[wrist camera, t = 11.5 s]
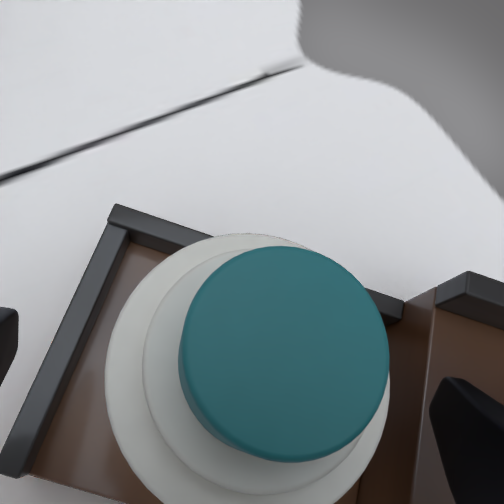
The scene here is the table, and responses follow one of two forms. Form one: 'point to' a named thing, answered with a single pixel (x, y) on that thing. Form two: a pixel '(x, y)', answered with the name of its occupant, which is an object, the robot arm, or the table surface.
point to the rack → (400, 370)
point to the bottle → (248, 375)
